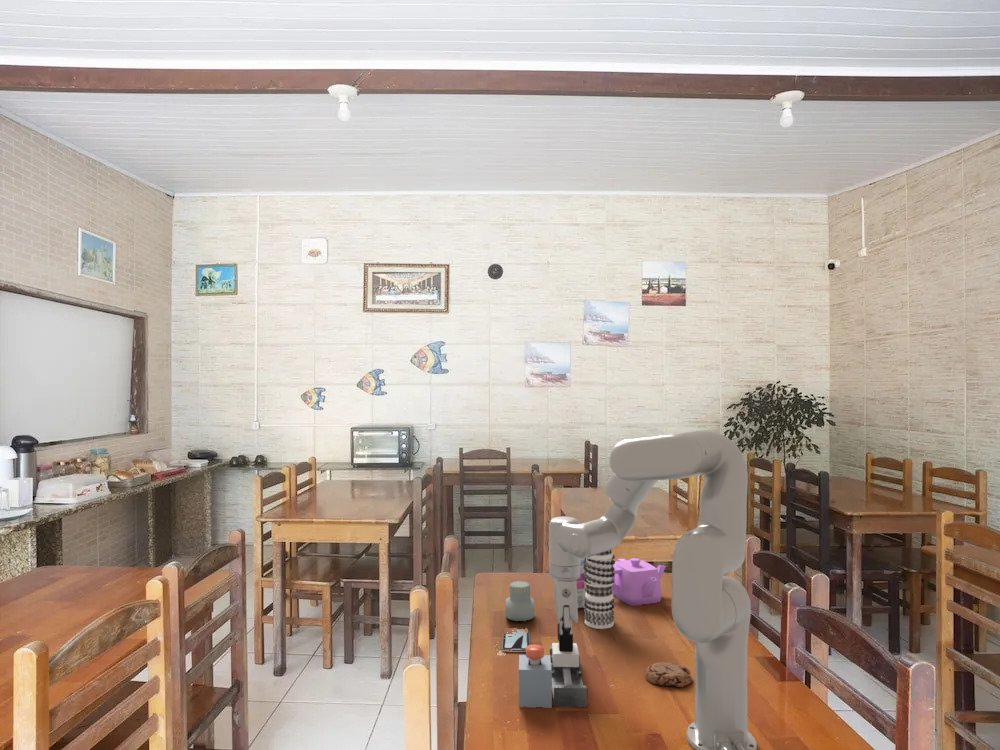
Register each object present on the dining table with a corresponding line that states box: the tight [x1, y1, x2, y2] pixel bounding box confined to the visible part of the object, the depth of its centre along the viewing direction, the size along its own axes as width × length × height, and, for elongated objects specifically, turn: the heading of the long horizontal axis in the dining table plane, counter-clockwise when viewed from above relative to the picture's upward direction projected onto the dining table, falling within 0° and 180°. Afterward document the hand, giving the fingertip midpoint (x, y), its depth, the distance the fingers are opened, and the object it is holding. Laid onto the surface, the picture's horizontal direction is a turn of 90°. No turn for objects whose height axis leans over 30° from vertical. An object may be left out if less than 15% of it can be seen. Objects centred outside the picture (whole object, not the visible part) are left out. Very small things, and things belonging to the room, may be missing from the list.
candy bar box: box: [576, 558, 586, 610], centre depth 188 cm, size 11×5×16 cm, turn 25°
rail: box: [549, 646, 588, 708], centre depth 138 cm, size 20×7×4 cm, turn 178°
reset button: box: [525, 644, 545, 665], centre depth 131 cm, size 4×4×6 cm
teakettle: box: [612, 557, 666, 606], centre depth 193 cm, size 17×17×12 cm
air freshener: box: [505, 580, 535, 622], centre depth 176 cm, size 11×8×10 cm
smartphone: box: [501, 628, 531, 651], centre depth 161 cm, size 7×1×15 cm
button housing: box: [518, 654, 553, 709], centre depth 131 cm, size 7×7×8 cm
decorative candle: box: [583, 549, 616, 630], centre depth 173 cm, size 9×9×25 cm
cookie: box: [645, 662, 693, 688], centre depth 140 cm, size 10×11×3 cm
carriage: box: [549, 622, 583, 673], centre depth 143 cm, size 6×7×10 cm
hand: (565, 644), depth 143 cm, fingers open, 5 cm apart
